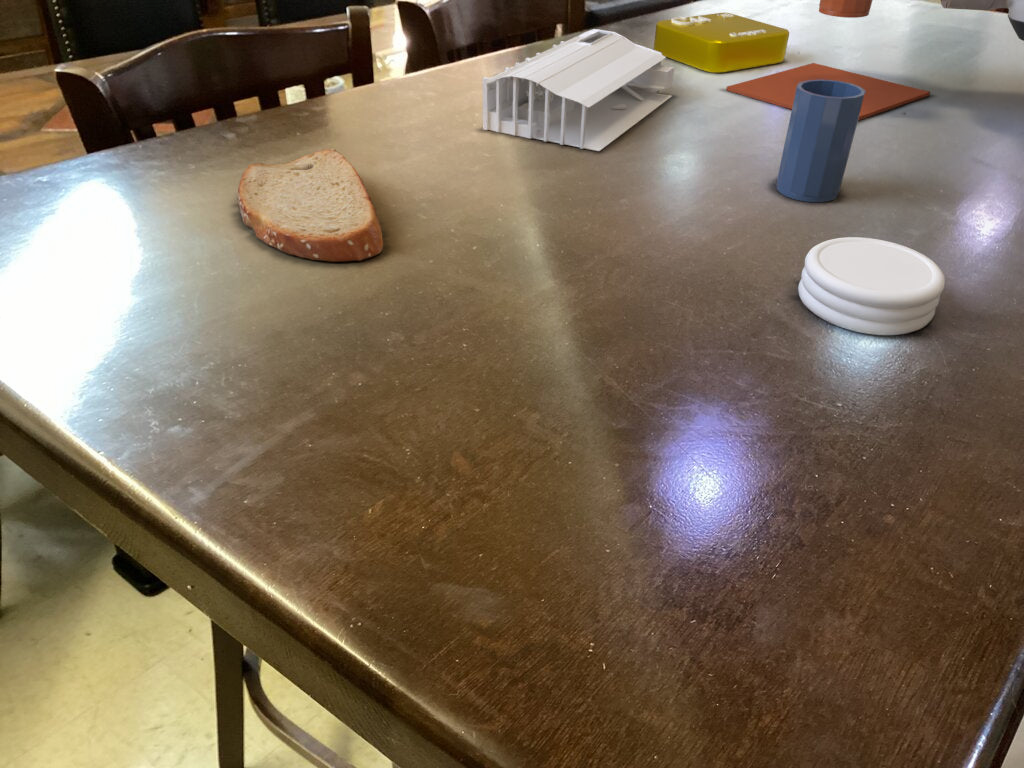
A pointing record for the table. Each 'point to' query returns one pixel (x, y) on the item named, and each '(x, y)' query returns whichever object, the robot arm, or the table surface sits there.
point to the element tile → (720, 42)
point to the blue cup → (819, 139)
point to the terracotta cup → (845, 8)
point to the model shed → (577, 91)
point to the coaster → (870, 285)
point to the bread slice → (311, 208)
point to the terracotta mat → (785, 83)
